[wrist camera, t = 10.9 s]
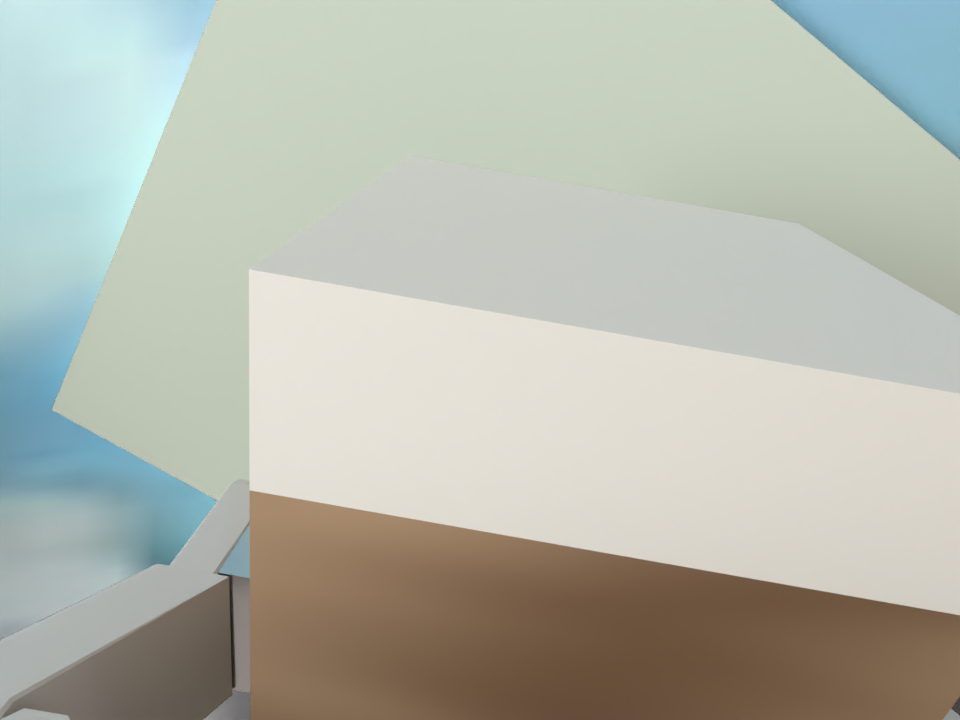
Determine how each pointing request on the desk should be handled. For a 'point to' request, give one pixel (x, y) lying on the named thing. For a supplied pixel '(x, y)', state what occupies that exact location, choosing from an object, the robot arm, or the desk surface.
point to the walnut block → (595, 464)
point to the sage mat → (479, 143)
